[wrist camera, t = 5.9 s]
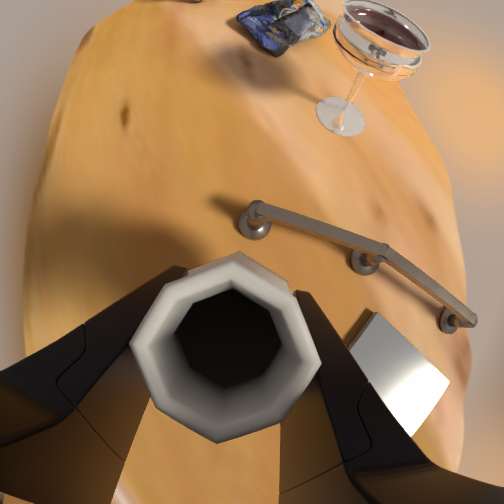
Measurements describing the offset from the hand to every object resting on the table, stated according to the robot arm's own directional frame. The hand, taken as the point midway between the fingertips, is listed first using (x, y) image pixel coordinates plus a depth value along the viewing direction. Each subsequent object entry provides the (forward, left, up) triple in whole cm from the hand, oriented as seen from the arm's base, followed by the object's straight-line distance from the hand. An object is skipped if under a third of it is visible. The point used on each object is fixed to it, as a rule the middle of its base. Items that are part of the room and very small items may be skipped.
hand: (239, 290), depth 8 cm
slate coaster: (+3, -14, -12) cm, 19 cm away
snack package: (+23, +21, -13) cm, 34 cm away
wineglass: (+18, +7, -13) cm, 23 cm away
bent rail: (+9, -5, -12) cm, 16 cm away
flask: (-1, -1, -7) cm, 7 cm away
